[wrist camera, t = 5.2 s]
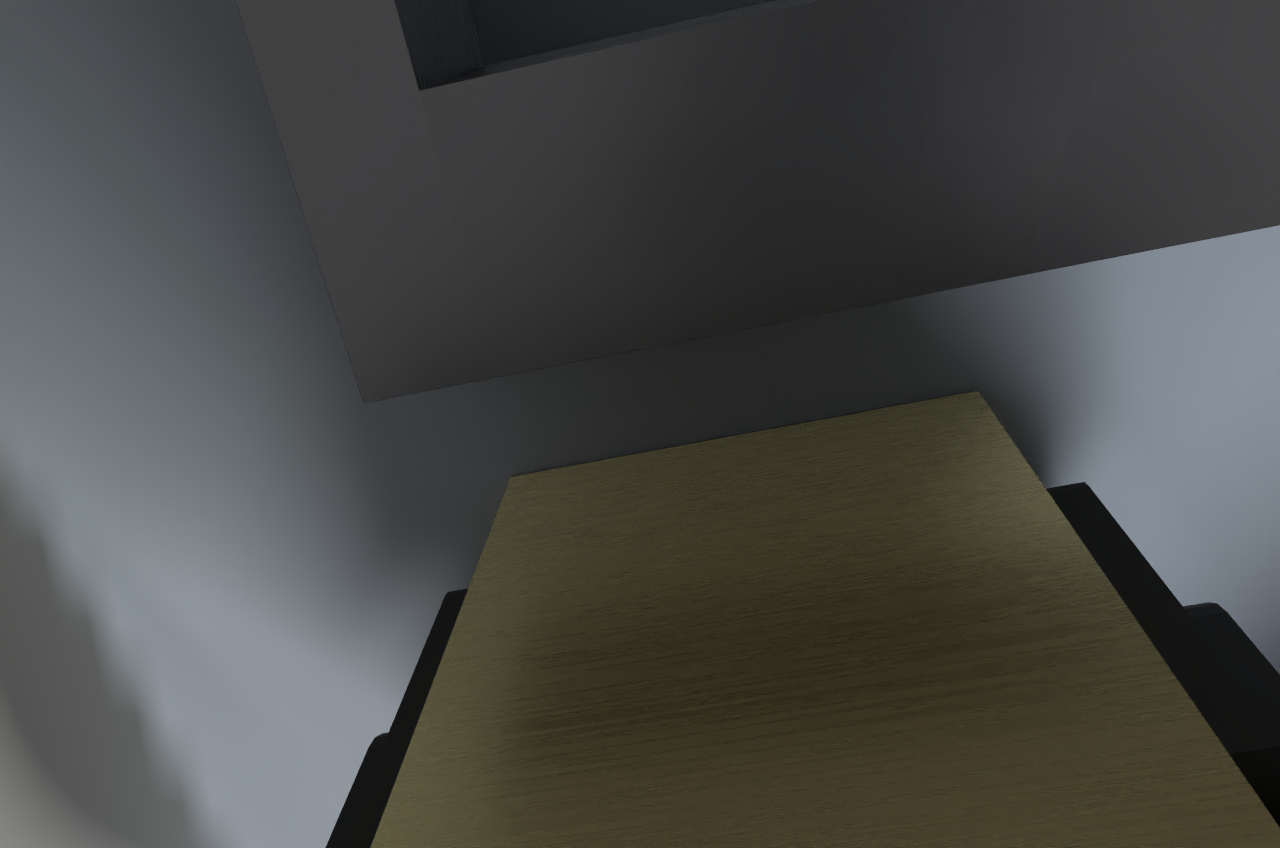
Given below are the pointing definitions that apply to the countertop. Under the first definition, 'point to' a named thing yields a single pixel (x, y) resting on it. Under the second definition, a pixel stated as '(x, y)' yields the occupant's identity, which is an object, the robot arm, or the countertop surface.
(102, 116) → the countertop surface
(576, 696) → the yellow rectangular block
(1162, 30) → the grey board with holes
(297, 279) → the countertop surface
